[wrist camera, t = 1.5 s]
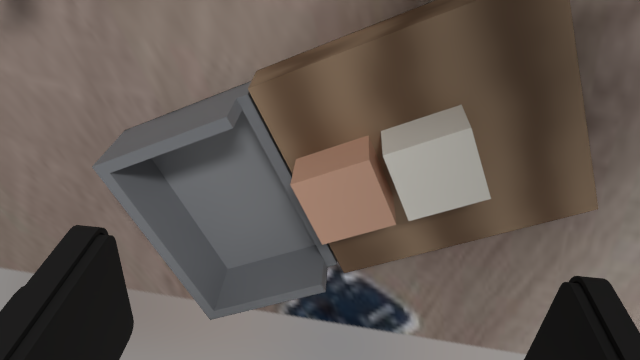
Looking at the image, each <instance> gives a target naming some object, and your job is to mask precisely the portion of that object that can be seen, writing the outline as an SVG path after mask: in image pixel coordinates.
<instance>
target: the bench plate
mask: <svg viewBox="0 0 640 360" xmlns="http://www.w3.org/2000/svg"><path fill="white" fill-rule="evenodd" d="M248 90H249V92H250V94H251V96H252V98H253V100H254V102H255V104H256V105H257V107H258V109H259V111H260V113H261V115H262V117H263V119H264V121H265V123H266V125H267V127H268V128H269V130H270V132H271V134H272V136H273V138H274V140H275V142H276V144H277V146H278V148H279V149H280V151H281V153H282V155H283V157H284V159H285V161H286V163H287V165H288V167H289V169H290V171H291V172H292V174H293V170H294V166H295V161H296V159H298V158H301V157H304V156H307V155H310V154H313V153H316V152H319V151H322V150H325V149H328V148H331V147H334V146H337V145H340V144H343V143H346V142H349V141H352V140H355V139H359V138H362V137H365V136H368V135H369V137H370V140H371V142H372V145H373V147H374V150H375V152H376V155H377V157H378V160H379V162H380V165H381V167H382V170H383V172H384V175H385V177H386V179H387V182H388V184H389V187H390V189H391V192H392V194H393V197H394V206H395V217H396V225H393V226H390V227H386V228H382V229H379V230H375V231H371V232H368V233H364V234H360V235H357V236H353V237H349V238H346V239H342V240H338V241H335V242H331V243H329V245H330V247H331V249H332V251H333V253H334V255H335V257H336V258H337V260H338V262H339V264H340V266H341V268H342V270H343V272H344V273H347V272H351V271H355V270H359V269H363V268H367V267H371V266H374V265H378V264H382V263H386V262H390V261H394V260H398V259H402V258H406V257H410V256H414V255H418V254H422V253H426V252H430V251H434V250H438V249H442V248H446V247H450V246H454V245H458V244H462V243H466V242H470V241H474V240H478V239H482V238H486V237H490V236H494V235H498V234H502V233H505V232H509V231H513V230H517V229H521V228H525V227H529V226H533V225H537V224H541V223H545V222H549V221H553V220H557V219H561V218H565V217H569V216H573V215H577V214H581V213H585V212H589V211H593V210H597V209H598V203H597V196H596V189H595V181H594V174H593V167H592V159H591V152H590V145H589V138H588V130H587V123H586V116H585V108H584V101H583V94H582V87H581V79H580V72H579V65H578V57H577V50H576V43H575V35H574V28H573V21H572V14H571V6H570V0H435V1H433V2H430V3H428V4H425V5H422V6H420V7H417V8H415V9H412V10H410V11H407V12H405V13H402V14H400V15H397V16H395V17H392V18H390V19H387V20H384V21H382V22H379V23H377V24H374V25H372V26H369V27H367V28H364V29H362V30H359V31H357V32H354V33H351V34H349V35H346V36H344V37H341V38H339V39H336V40H334V41H331V42H329V43H326V44H324V45H321V46H319V47H316V48H313V49H311V50H308V51H306V52H303V53H301V54H298V55H296V56H293V57H291V58H288V59H286V60H283V61H281V62H278V63H275V64H273V65H270V66H268V67H265V68H263V69H260V70H258V71H256V73H255V75H254V77H253V79H252V81H251V83H250V85H249V87H248ZM458 105H462V107H463V109H464V112H465V114H466V116H467V119H468V121H469V123H470V126H471V128H472V132H473V135H474V139H475V143H476V146H477V150H478V153H479V157H480V161H481V164H482V168H483V172H484V175H485V179H486V182H487V186H488V190H489V193H490V197H491V199H489V200H485V201H481V202H478V203H474V204H470V205H467V206H463V207H459V208H456V209H452V210H448V211H445V212H441V213H437V214H434V215H430V216H426V217H423V218H419V219H415V220H412V221H408V218H407V216H406V213H405V211H404V208H403V205H402V203H401V200H400V198H399V195H398V193H397V190H396V188H395V185H394V183H393V180H392V178H391V175H390V173H389V170H388V168H387V165H386V163H385V160H384V158H383V154H382V140H381V131H383V130H386V129H389V128H392V127H395V126H398V125H401V124H404V123H407V122H410V121H413V120H416V119H419V118H422V117H425V116H428V115H431V114H434V113H437V112H440V111H443V110H446V109H449V108H452V107H455V106H458Z"/></svg>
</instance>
